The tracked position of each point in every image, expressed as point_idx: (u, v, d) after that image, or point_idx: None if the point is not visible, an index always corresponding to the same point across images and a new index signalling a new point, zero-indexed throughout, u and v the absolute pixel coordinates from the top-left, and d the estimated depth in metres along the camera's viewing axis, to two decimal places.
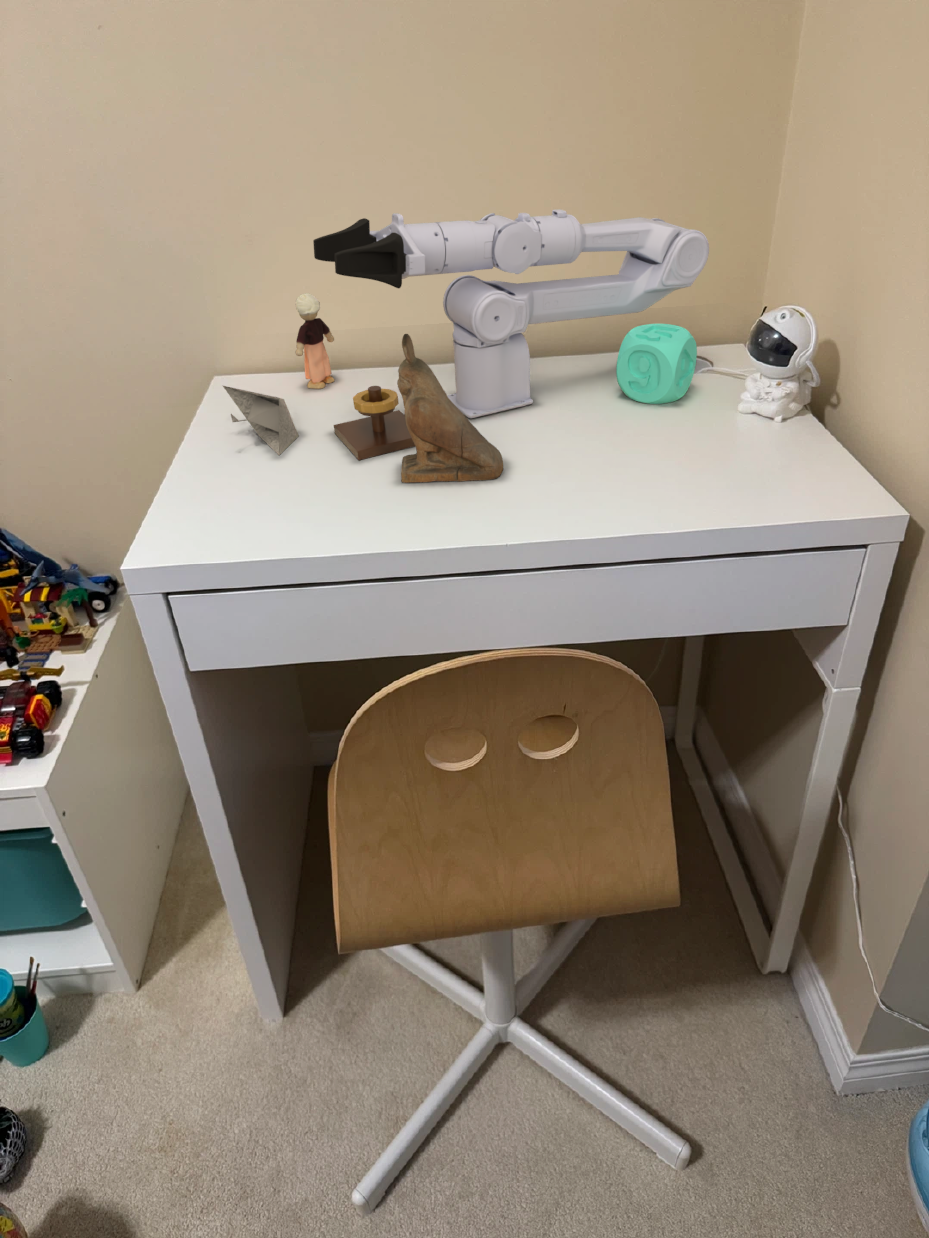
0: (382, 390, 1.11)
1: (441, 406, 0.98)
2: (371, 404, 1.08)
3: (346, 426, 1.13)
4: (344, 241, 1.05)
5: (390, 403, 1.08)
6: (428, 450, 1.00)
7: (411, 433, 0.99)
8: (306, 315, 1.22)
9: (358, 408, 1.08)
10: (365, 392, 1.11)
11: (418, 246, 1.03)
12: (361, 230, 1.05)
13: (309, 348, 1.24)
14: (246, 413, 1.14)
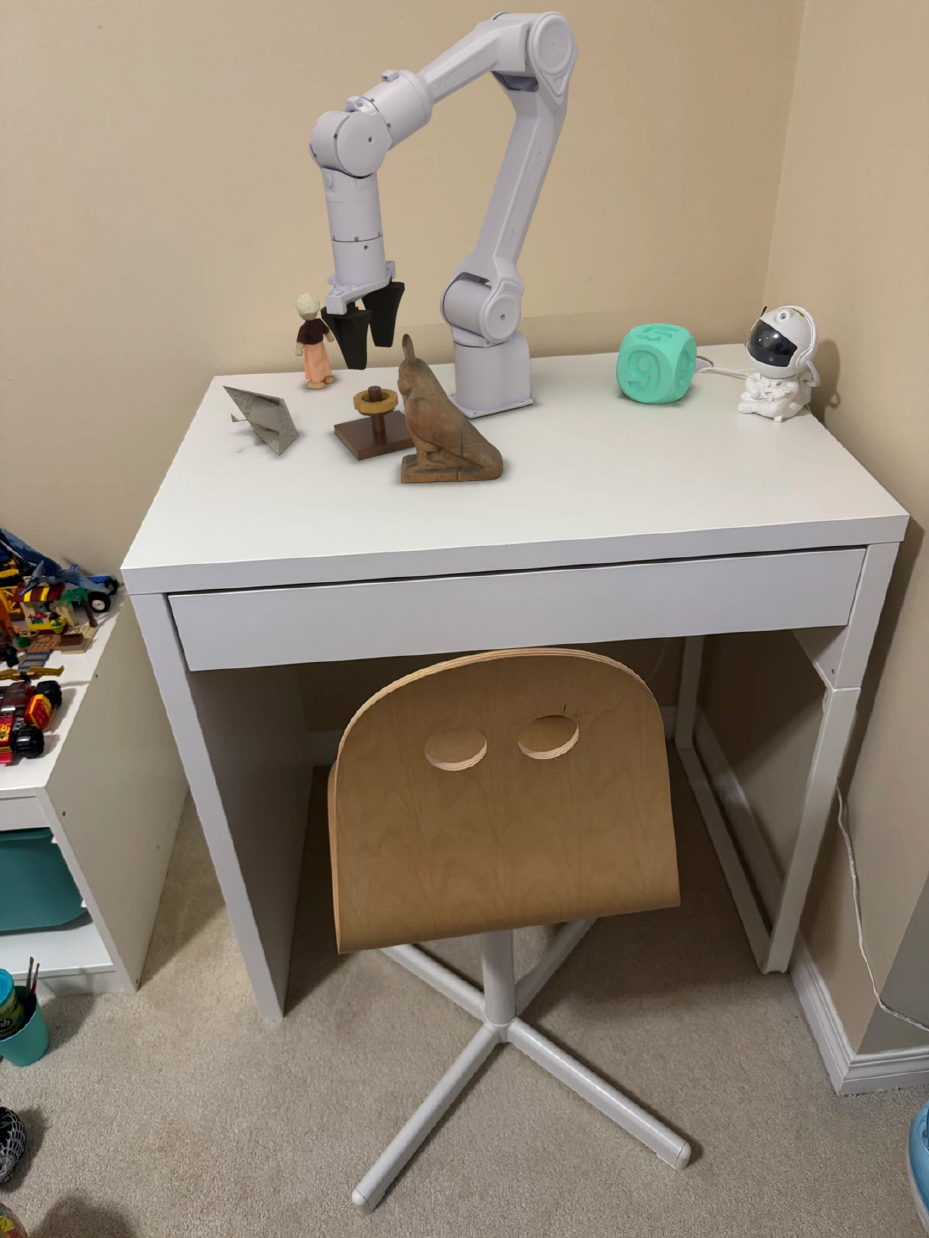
0: (382, 390, 1.11)
1: (441, 406, 0.98)
2: (371, 404, 1.08)
3: (346, 426, 1.13)
4: (375, 315, 1.08)
5: (390, 403, 1.08)
6: (428, 450, 1.00)
7: (411, 433, 0.99)
8: (306, 315, 1.22)
9: (358, 408, 1.08)
10: (365, 392, 1.11)
11: (342, 273, 0.99)
12: (364, 297, 1.07)
13: (309, 348, 1.24)
14: (246, 413, 1.14)
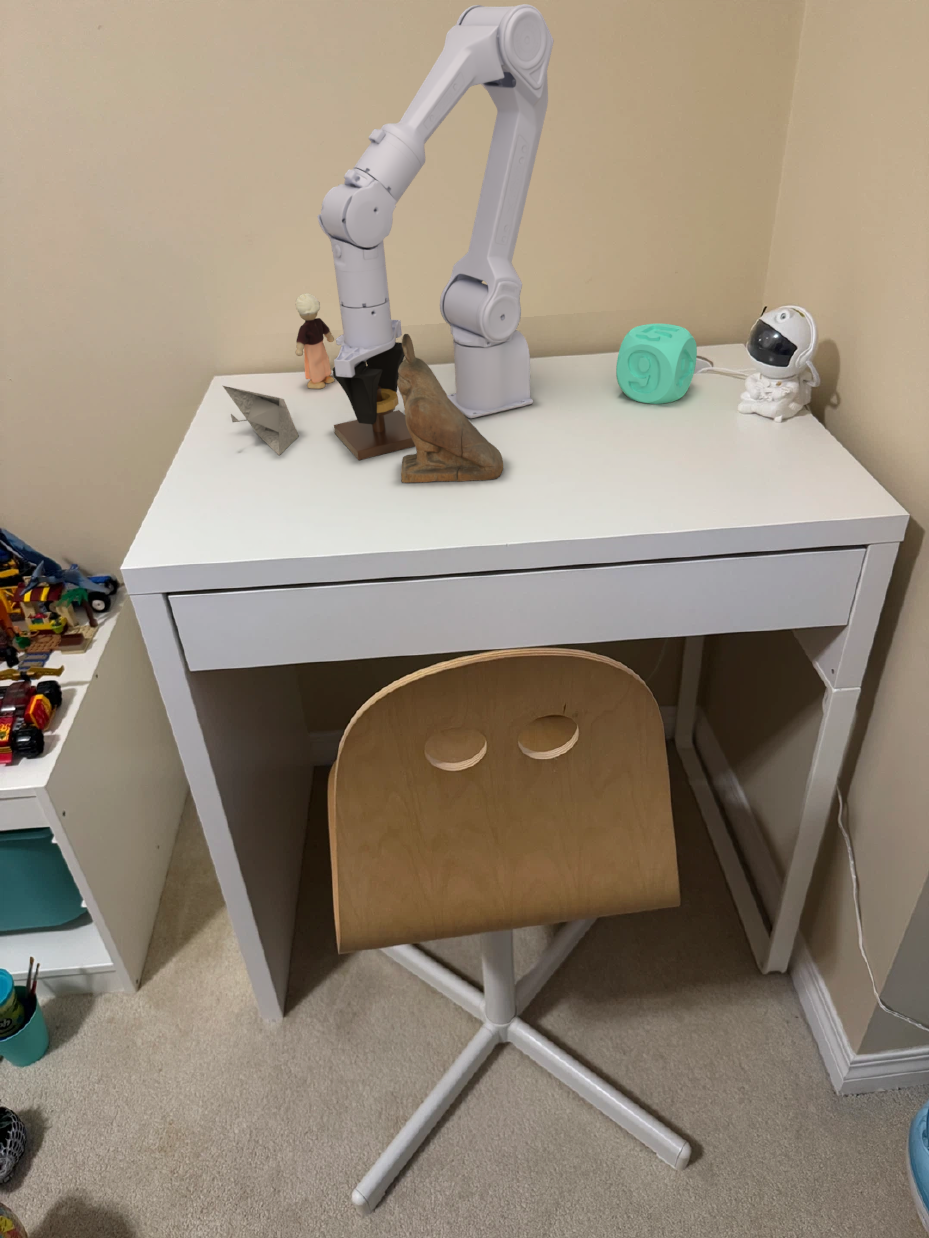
0: (382, 390, 1.11)
1: (441, 406, 0.98)
2: None
3: (346, 426, 1.13)
4: None
5: (390, 403, 1.08)
6: (428, 450, 1.00)
7: (411, 433, 0.99)
8: (306, 315, 1.22)
9: None
10: None
11: (350, 336, 1.03)
12: (368, 358, 1.10)
13: (309, 348, 1.24)
14: (246, 413, 1.14)
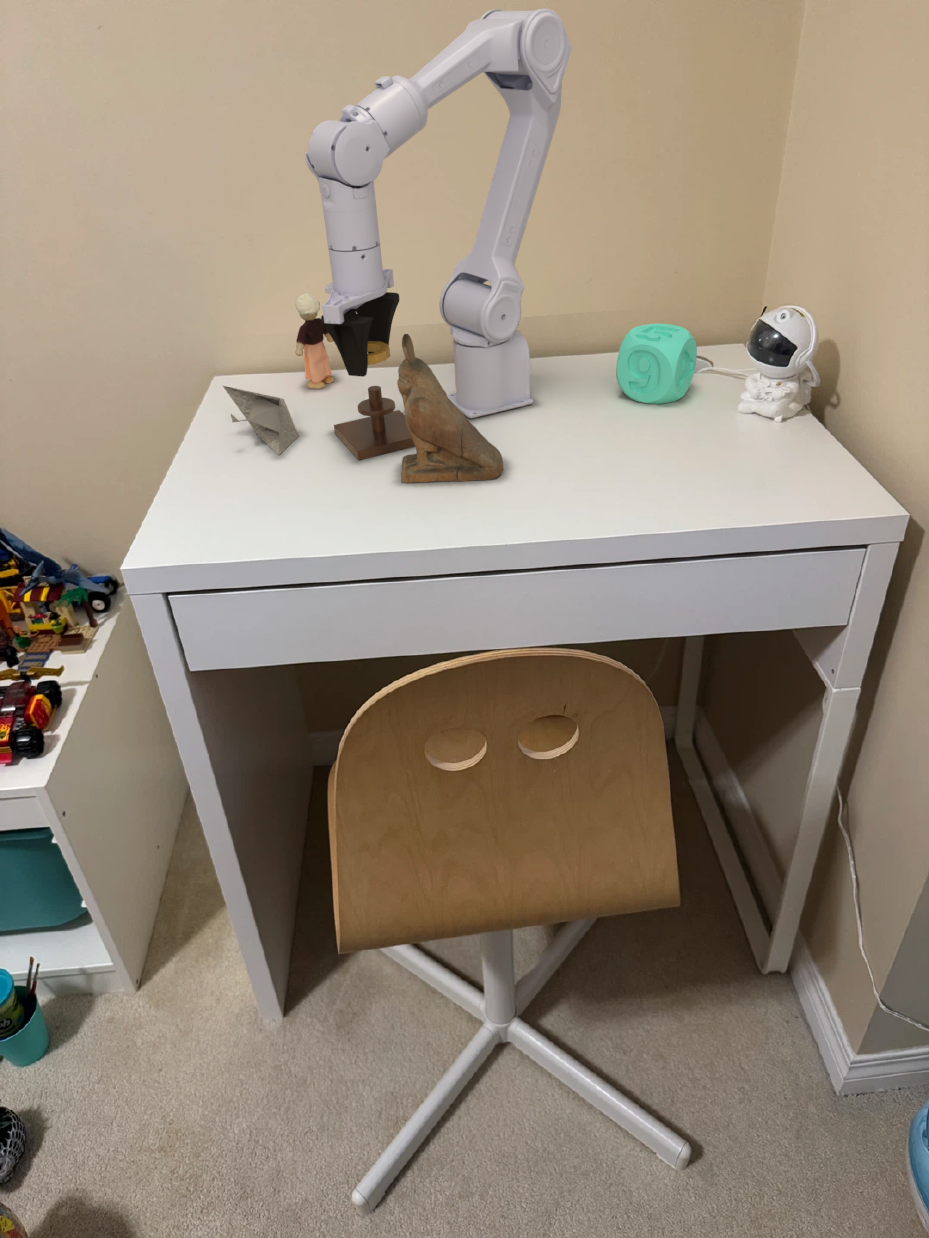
0: (373, 342, 1.07)
1: (441, 406, 0.98)
2: None
3: (346, 426, 1.13)
4: (369, 326, 1.07)
5: (381, 355, 1.04)
6: (428, 450, 1.00)
7: (411, 433, 0.99)
8: (306, 315, 1.22)
9: None
10: None
11: (339, 282, 0.99)
12: (358, 308, 1.06)
13: (309, 348, 1.24)
14: (246, 413, 1.14)
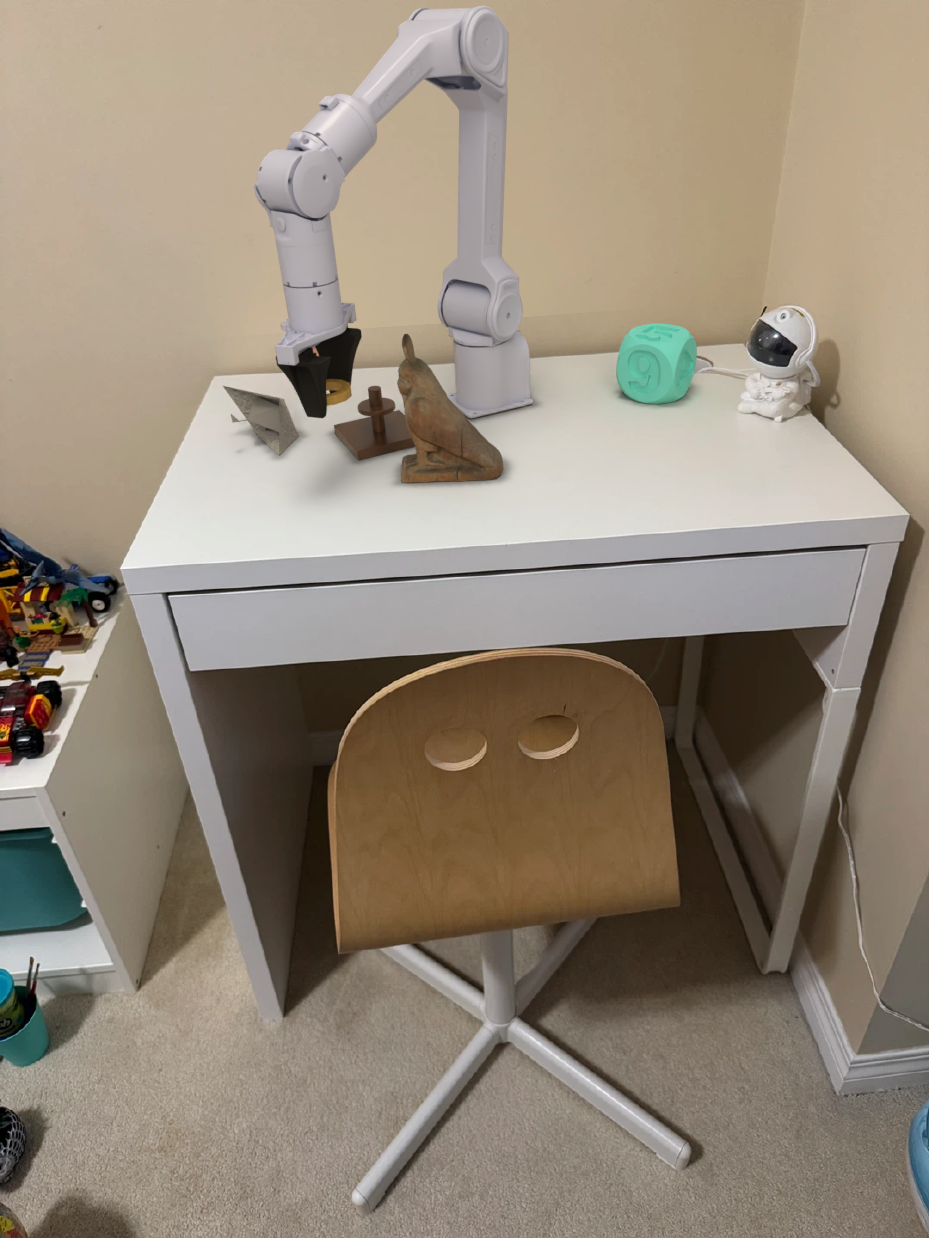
0: (334, 381, 1.01)
1: (441, 406, 0.98)
2: None
3: (346, 426, 1.13)
4: (330, 364, 1.01)
5: (341, 395, 0.98)
6: (428, 450, 1.00)
7: (411, 433, 0.99)
8: None
9: None
10: None
11: (294, 320, 0.93)
12: (318, 345, 1.00)
13: None
14: (246, 413, 1.14)
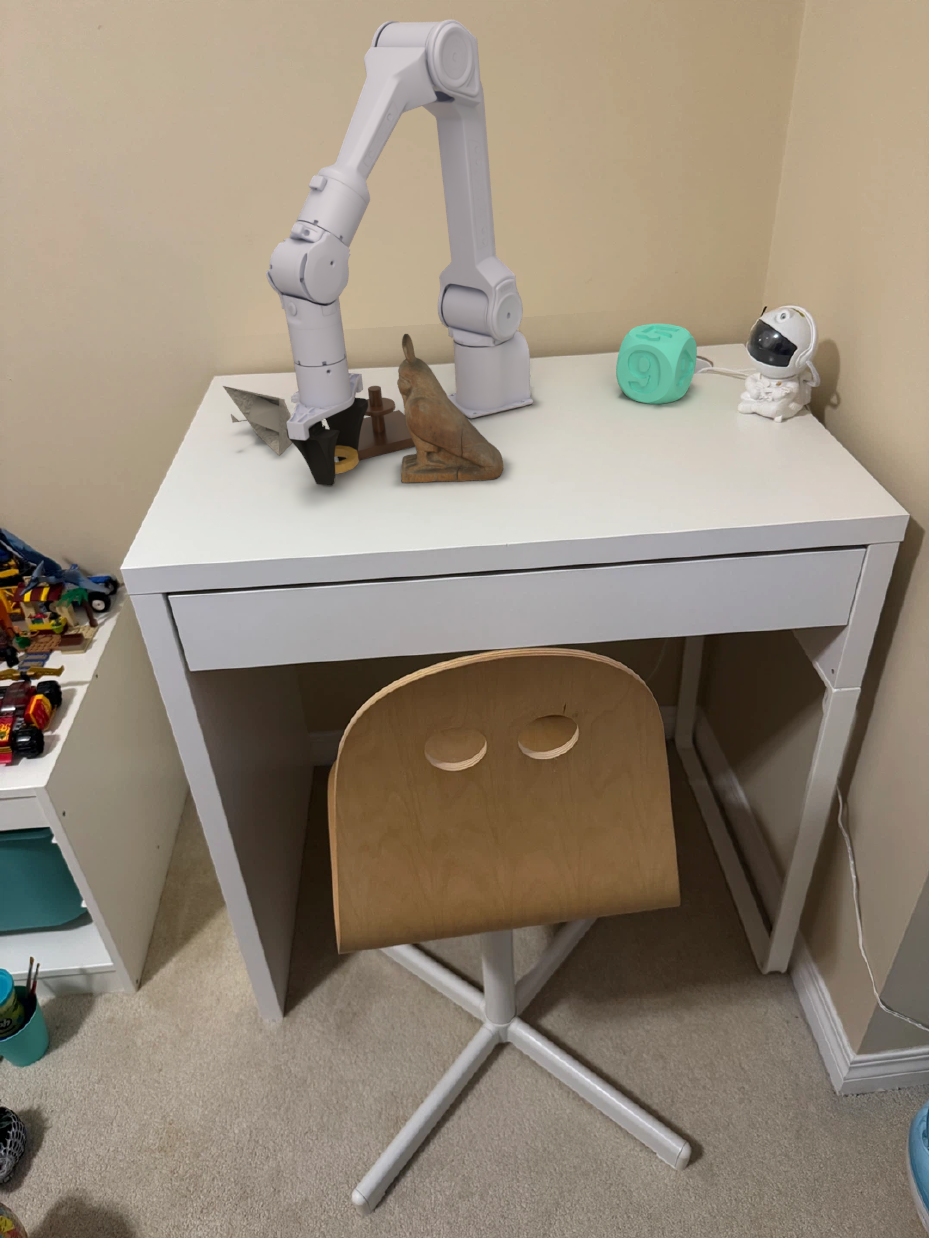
0: (342, 448, 1.05)
1: (441, 406, 0.98)
2: None
3: None
4: (338, 431, 1.05)
5: (349, 463, 1.02)
6: (428, 450, 1.00)
7: (411, 433, 0.99)
8: None
9: None
10: None
11: (305, 395, 0.97)
12: None
13: None
14: (246, 413, 1.14)
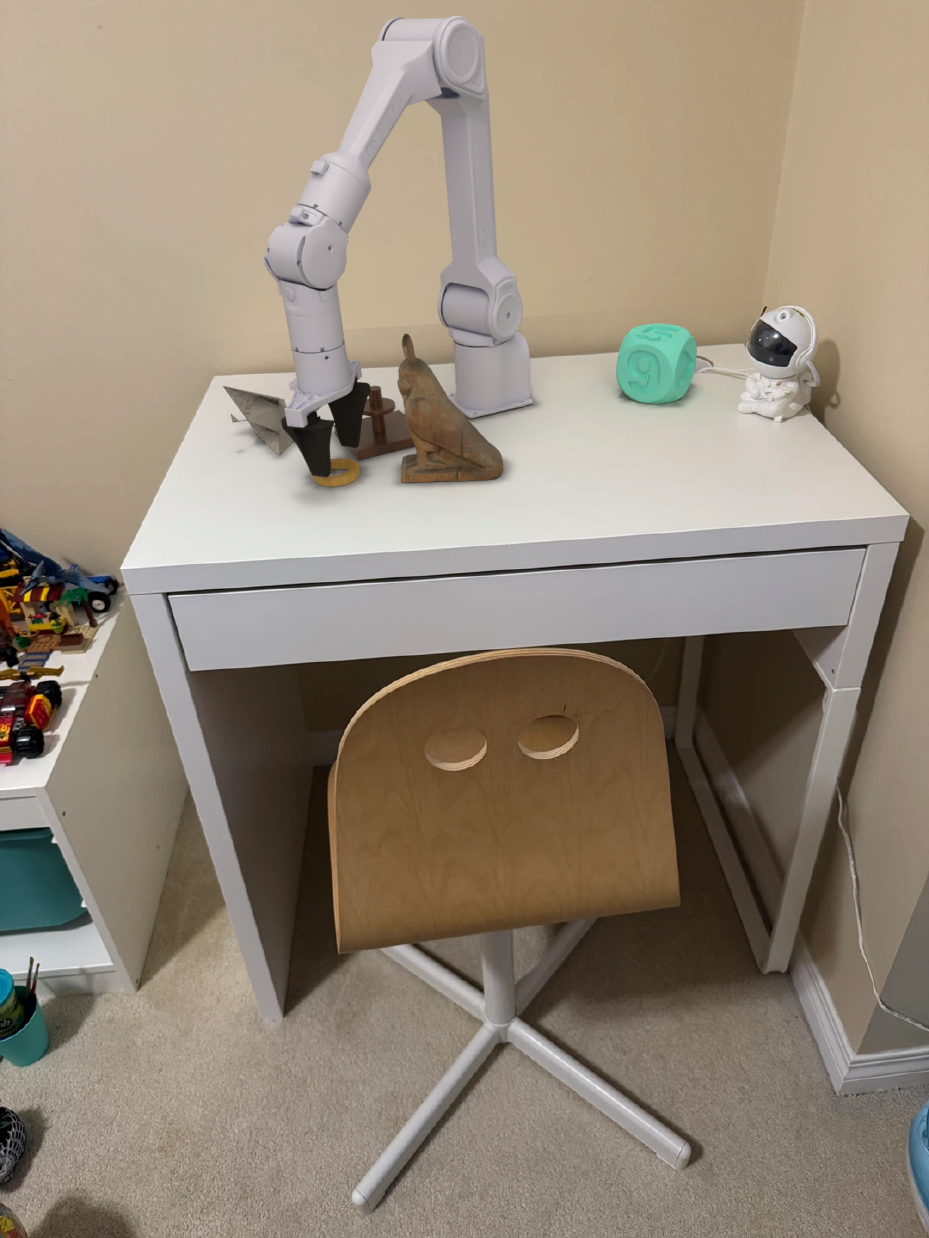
0: (343, 460, 1.06)
1: (441, 406, 0.98)
2: (330, 477, 1.02)
3: None
4: (340, 416, 1.05)
5: (351, 476, 1.03)
6: (428, 450, 1.00)
7: (411, 433, 0.99)
8: None
9: (317, 481, 1.03)
10: None
11: (303, 382, 0.96)
12: None
13: None
14: (246, 413, 1.14)
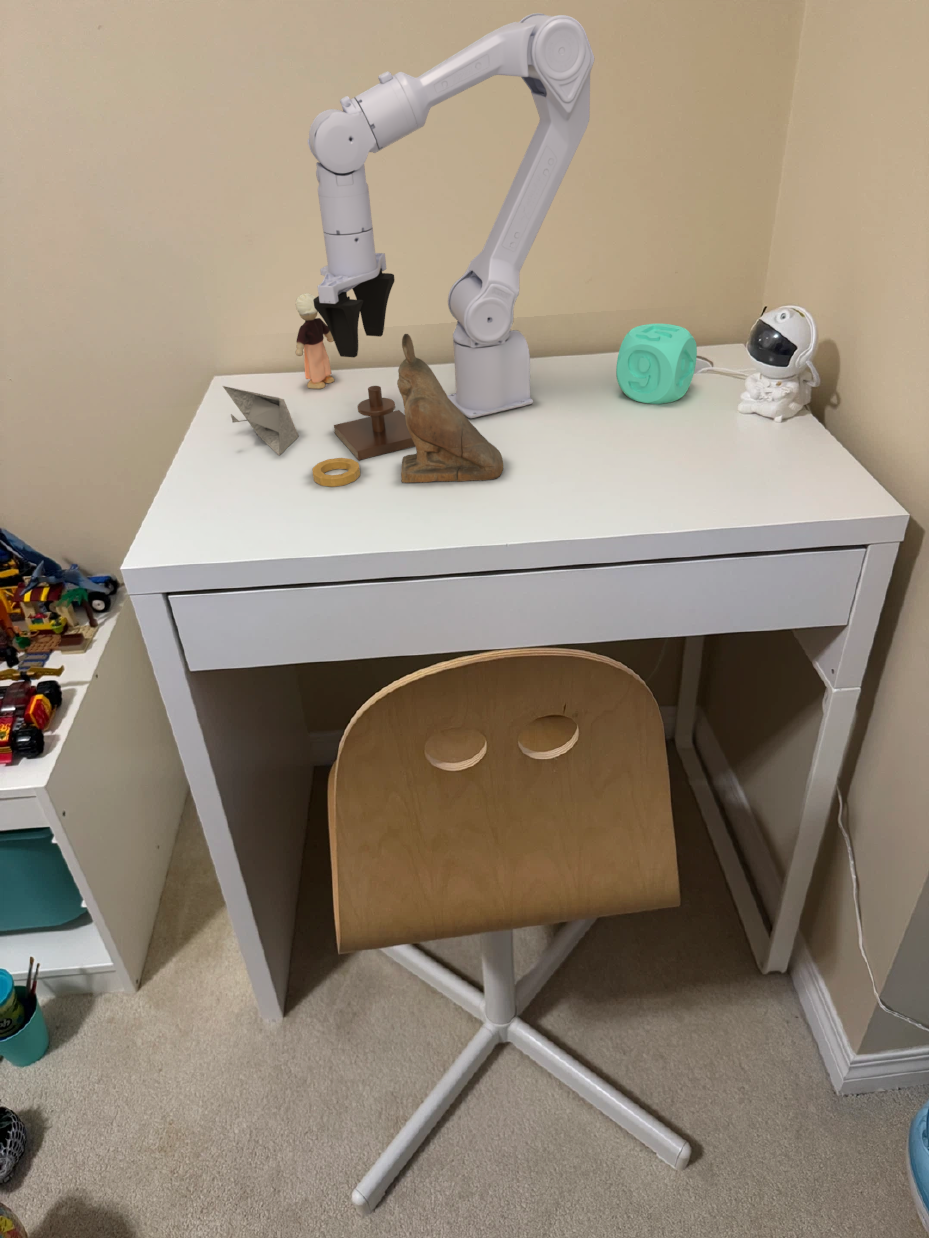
0: (343, 460, 1.06)
1: (441, 406, 0.98)
2: (330, 477, 1.02)
3: (346, 426, 1.13)
4: (366, 305, 1.13)
5: (351, 476, 1.03)
6: (428, 450, 1.00)
7: (411, 433, 0.99)
8: (306, 315, 1.22)
9: (317, 481, 1.03)
10: (325, 462, 1.06)
11: (334, 264, 1.04)
12: (356, 288, 1.12)
13: (309, 348, 1.24)
14: (246, 413, 1.14)
